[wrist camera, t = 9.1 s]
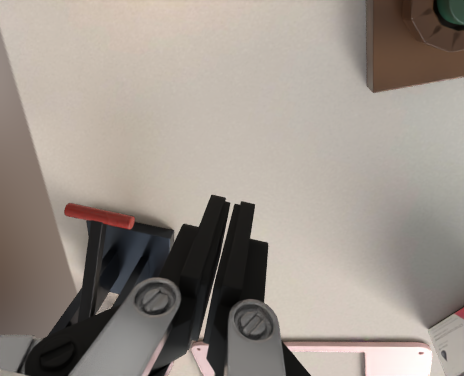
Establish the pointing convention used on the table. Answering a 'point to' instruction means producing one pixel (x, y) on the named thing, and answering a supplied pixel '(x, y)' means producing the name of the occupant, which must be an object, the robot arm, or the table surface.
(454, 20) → the button
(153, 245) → the bracket
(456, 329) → the ink box
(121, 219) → the lever
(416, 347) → the panel
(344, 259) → the table surface
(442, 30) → the block
